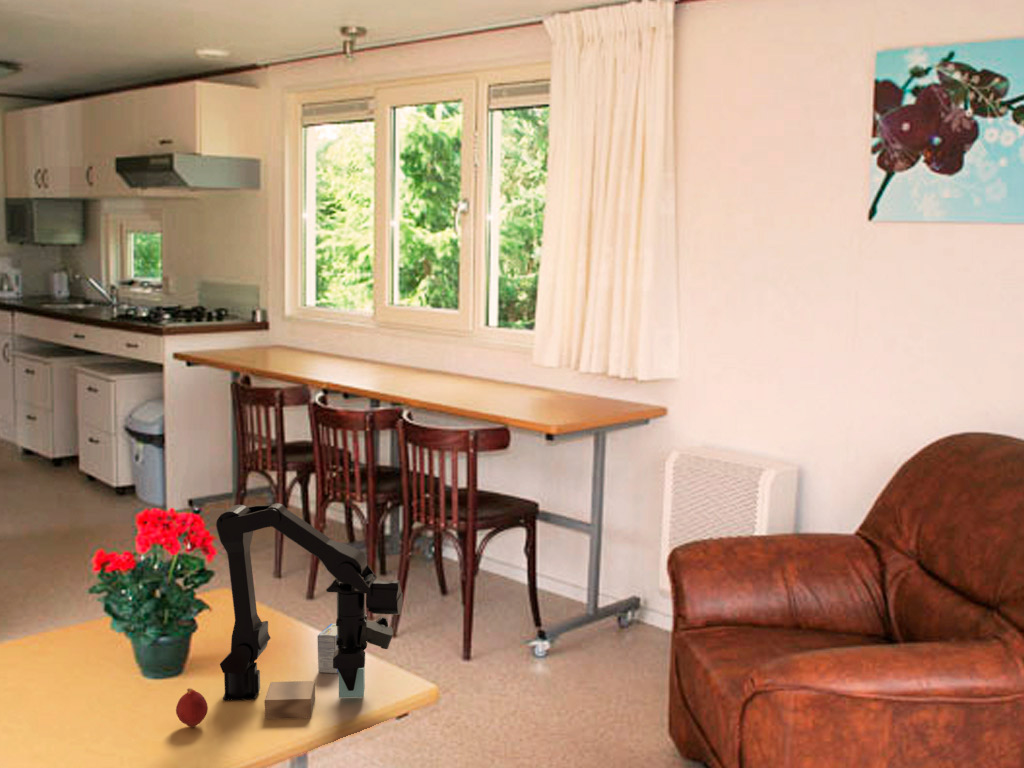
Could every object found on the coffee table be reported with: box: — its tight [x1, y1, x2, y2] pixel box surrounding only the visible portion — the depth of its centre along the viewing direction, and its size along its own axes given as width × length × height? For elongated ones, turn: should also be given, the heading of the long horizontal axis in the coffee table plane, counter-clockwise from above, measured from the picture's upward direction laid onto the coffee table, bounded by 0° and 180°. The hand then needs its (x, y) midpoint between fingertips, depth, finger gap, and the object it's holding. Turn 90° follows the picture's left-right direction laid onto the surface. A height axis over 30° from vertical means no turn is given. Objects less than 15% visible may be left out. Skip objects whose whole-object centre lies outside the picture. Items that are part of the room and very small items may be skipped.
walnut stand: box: [264, 680, 316, 720], centre depth 225 cm, size 9×9×4 cm
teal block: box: [337, 667, 366, 699], centre depth 230 cm, size 5×5×6 cm
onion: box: [175, 687, 209, 728], centre depth 217 cm, size 6×6×8 cm
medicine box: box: [316, 623, 339, 675], centre depth 247 cm, size 8×4×9 cm, turn 168°
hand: (351, 685), depth 230 cm, fingers closed on teal block, 5 cm apart
